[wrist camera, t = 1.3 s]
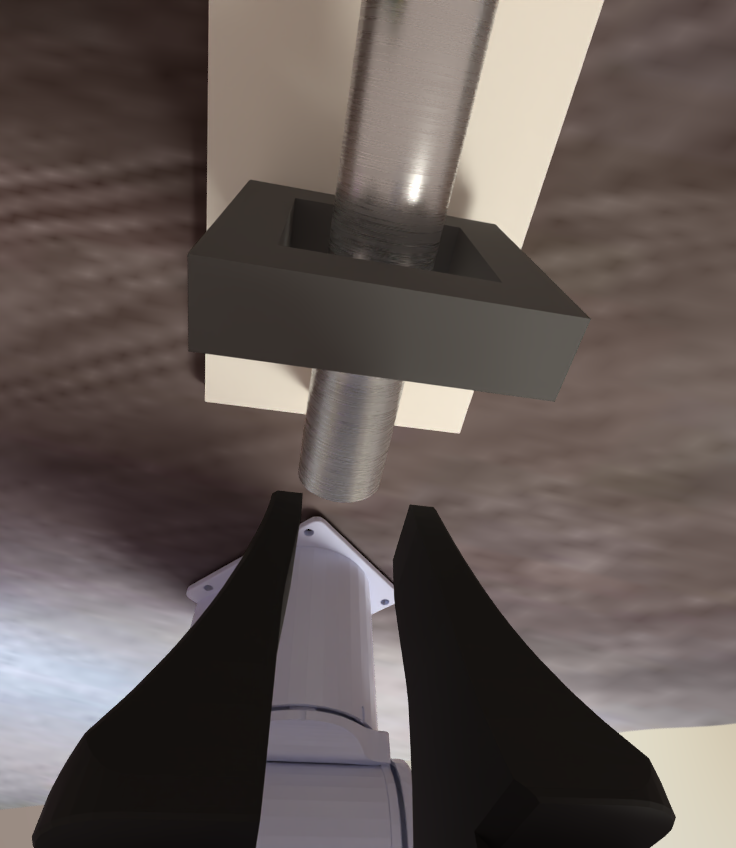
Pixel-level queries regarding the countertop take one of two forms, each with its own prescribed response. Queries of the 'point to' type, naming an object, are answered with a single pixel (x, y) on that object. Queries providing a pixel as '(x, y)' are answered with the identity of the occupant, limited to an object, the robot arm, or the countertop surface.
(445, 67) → the pipe
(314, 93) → the base board
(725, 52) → the countertop surface
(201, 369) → the countertop surface
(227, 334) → the collar
